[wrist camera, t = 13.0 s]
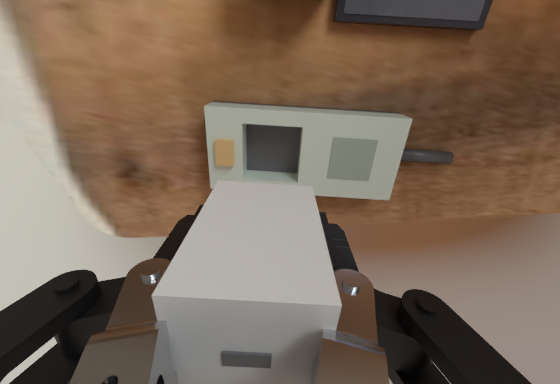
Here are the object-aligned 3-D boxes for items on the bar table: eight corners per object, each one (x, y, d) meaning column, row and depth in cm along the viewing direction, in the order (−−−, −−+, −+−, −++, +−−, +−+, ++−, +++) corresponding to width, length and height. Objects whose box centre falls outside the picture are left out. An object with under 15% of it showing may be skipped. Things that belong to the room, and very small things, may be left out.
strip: (460, 116, 24) (487, 124, 21) (433, 190, 28) (452, 207, 25) (213, 101, 25) (201, 106, 21) (218, 176, 28) (208, 191, 25)
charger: (312, 186, 11) (342, 308, 5) (302, 259, 12) (317, 407, 7) (218, 180, 11) (149, 298, 5) (221, 254, 12) (174, 400, 7)
